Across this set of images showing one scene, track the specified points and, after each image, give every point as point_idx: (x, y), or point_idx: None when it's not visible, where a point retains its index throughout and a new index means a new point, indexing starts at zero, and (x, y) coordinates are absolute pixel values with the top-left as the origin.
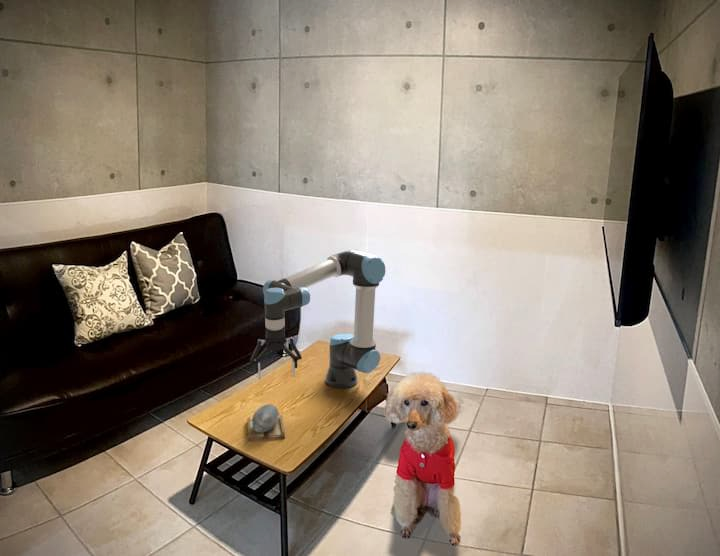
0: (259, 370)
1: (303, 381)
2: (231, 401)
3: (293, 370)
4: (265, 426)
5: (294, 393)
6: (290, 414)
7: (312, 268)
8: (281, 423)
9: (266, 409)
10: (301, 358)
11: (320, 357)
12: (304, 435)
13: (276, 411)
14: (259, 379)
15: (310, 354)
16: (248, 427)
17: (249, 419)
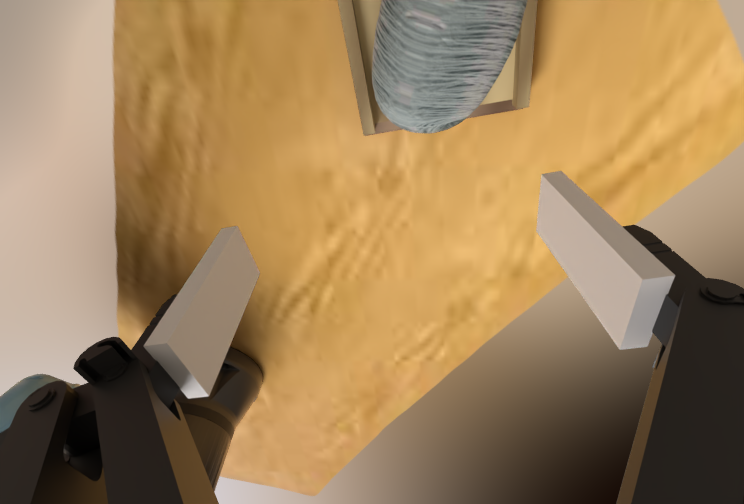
0: (602, 225)
1: (326, 371)
2: None
3: (207, 265)
4: None
5: (343, 314)
6: (335, 179)
7: None
8: (355, 44)
9: (446, 27)
10: (32, 395)
11: (303, 455)
12: None
13: (382, 70)
14: (554, 172)
15: (330, 464)
16: None
17: (520, 86)
